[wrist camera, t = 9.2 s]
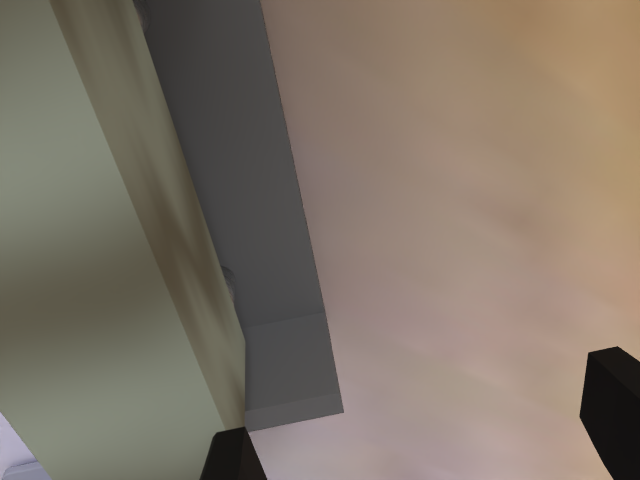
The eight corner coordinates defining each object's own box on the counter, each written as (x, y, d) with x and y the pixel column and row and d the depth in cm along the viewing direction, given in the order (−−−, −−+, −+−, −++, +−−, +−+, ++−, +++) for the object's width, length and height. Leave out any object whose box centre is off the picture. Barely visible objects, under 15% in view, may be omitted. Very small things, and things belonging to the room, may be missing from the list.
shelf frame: (327, 323, 22) (346, 422, 18) (91, 371, 22) (53, 481, 18) (218, -198, 13) (202, -252, 8) (-191, -117, 13) (-413, -131, 8)
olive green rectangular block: (245, 341, 18) (244, 474, 14) (116, 367, 18) (74, 509, 14) (113, -56, 11) (34, -36, 7) (-91, -17, 11) (-292, 27, 7)
